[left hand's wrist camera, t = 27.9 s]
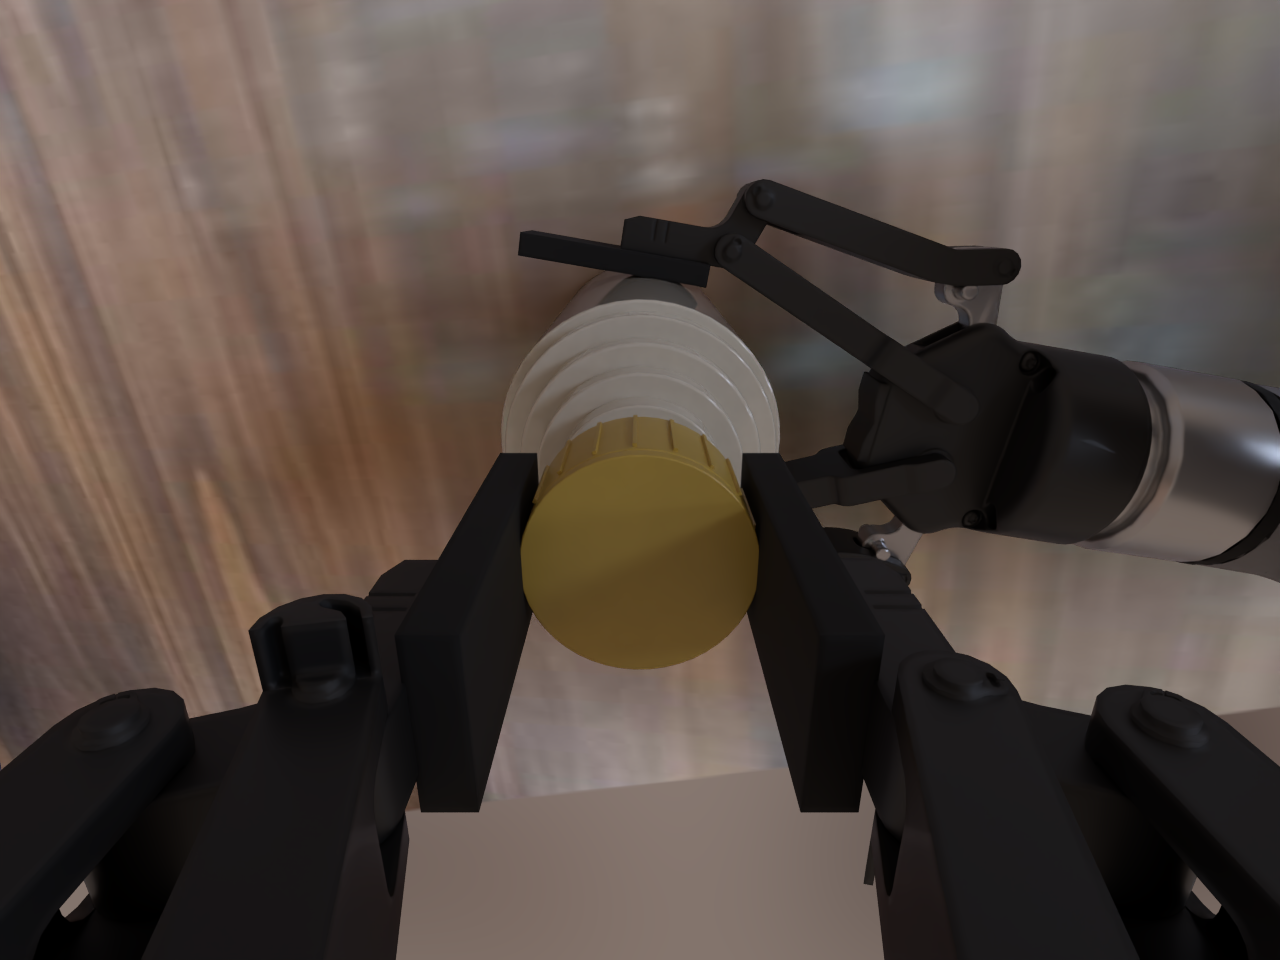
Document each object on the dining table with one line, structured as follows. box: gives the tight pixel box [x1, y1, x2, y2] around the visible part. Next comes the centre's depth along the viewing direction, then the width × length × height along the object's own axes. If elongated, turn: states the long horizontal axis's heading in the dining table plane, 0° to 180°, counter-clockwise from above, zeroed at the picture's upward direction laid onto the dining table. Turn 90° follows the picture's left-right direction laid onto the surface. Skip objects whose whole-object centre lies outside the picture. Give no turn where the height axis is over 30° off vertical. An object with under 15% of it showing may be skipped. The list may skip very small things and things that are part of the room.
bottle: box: [501, 271, 780, 486], centre depth 23 cm, size 8×8×20 cm
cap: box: [520, 415, 759, 669], centre depth 13 cm, size 4×4×2 cm
